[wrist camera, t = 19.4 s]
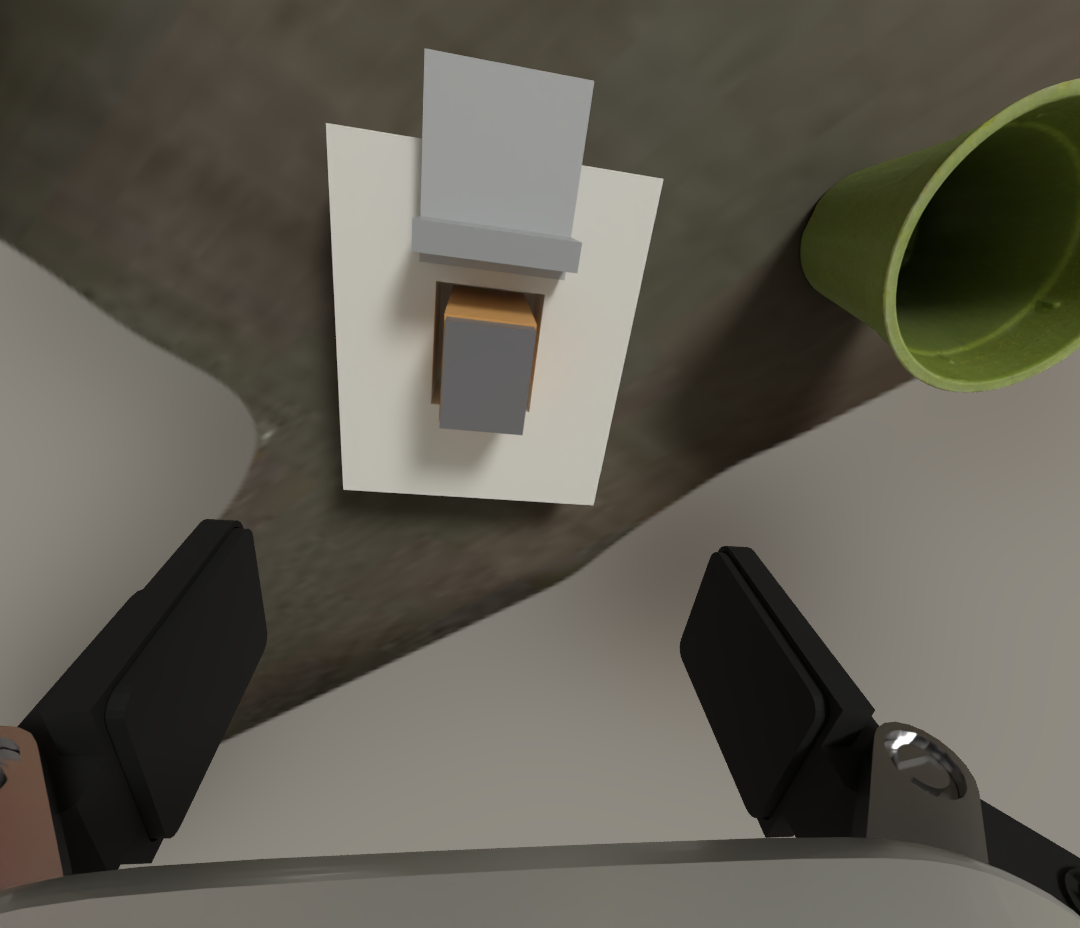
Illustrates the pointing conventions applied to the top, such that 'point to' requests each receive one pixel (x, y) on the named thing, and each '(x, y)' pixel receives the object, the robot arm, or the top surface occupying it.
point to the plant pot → (964, 247)
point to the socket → (418, 323)
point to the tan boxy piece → (486, 360)
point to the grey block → (500, 166)
